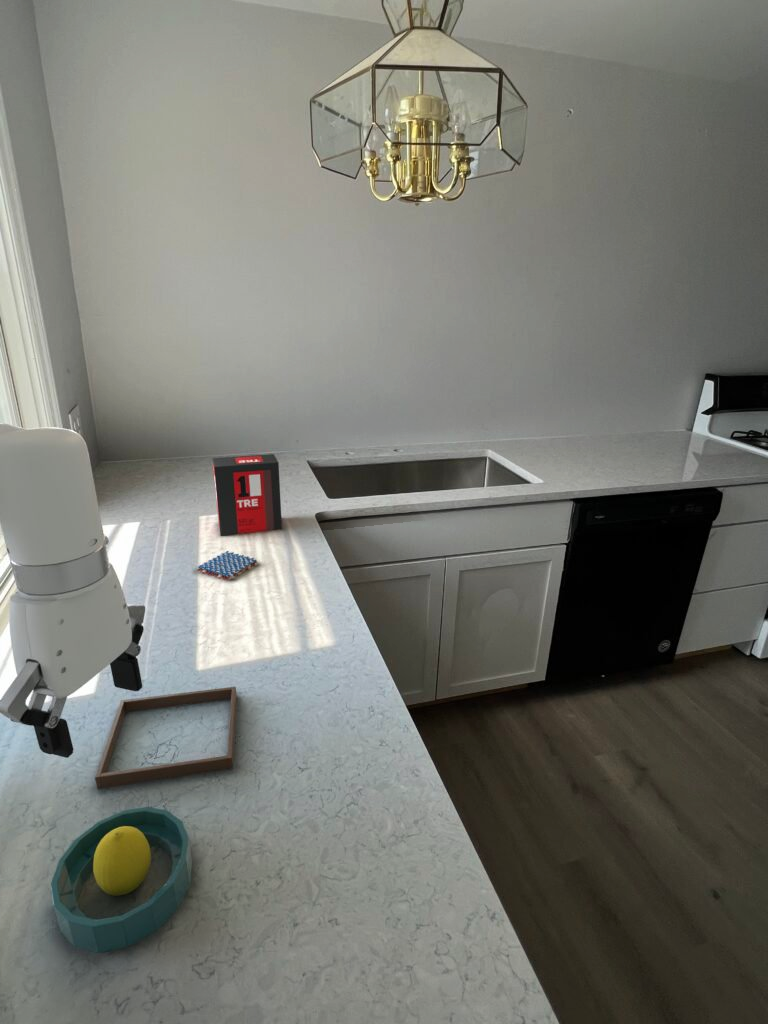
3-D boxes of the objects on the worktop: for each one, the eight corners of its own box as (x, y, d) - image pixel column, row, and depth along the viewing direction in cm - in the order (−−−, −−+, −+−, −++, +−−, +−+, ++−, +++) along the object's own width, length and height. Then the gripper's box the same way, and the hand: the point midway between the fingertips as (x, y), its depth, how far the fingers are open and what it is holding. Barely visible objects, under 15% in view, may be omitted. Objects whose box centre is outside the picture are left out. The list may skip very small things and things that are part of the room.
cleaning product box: (220, 538, 150) (213, 466, 143) (219, 526, 158) (212, 458, 151) (282, 531, 155) (278, 462, 148) (277, 520, 163) (273, 454, 156)
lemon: (88, 901, 59) (74, 847, 56) (127, 856, 64) (116, 804, 61) (129, 920, 57) (117, 866, 55) (166, 872, 62) (157, 820, 59)
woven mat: (194, 573, 130) (194, 566, 130) (226, 557, 139) (225, 549, 138) (229, 584, 126) (228, 576, 125) (259, 566, 135) (258, 558, 134)
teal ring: (41, 969, 54) (31, 938, 52) (80, 845, 66) (73, 817, 64) (184, 939, 56) (179, 909, 55) (197, 826, 68) (193, 799, 67)
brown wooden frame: (97, 792, 73) (94, 777, 72) (123, 713, 87) (120, 700, 86) (233, 772, 76) (231, 757, 75) (237, 699, 90) (235, 686, 89)
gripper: (98, 527, 59) (123, 662, 65) (-64, 607, 44) (-11, 774, 50) (158, 535, 57) (179, 673, 63) (12, 622, 42) (58, 794, 48)
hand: (96, 717), depth 57 cm, fingers open, 9 cm apart
